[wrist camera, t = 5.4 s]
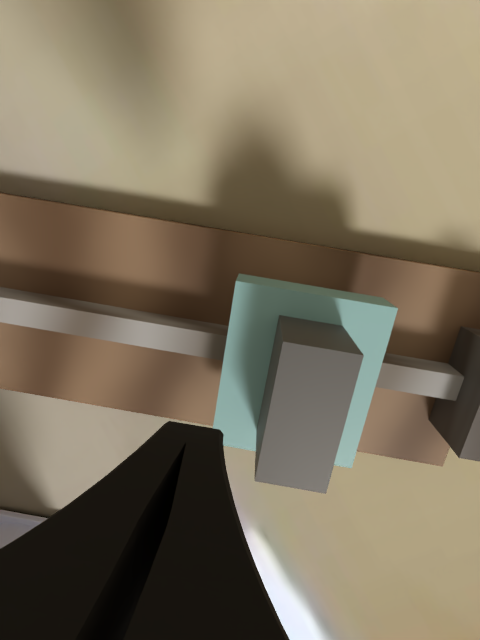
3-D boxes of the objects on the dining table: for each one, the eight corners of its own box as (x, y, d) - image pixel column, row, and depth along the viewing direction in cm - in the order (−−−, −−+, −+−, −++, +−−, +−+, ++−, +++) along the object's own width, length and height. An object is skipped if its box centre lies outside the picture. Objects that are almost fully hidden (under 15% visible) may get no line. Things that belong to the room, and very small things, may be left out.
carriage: (215, 420, 17) (197, 495, 12) (239, 273, 15) (228, 298, 10) (342, 442, 17) (371, 527, 12) (382, 297, 15) (435, 333, 10)
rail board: (-96, 361, 20) (-179, 394, 17) (-117, 172, 18) (-223, 161, 14) (435, 454, 20) (476, 511, 16) (501, 275, 17) (569, 292, 13)
